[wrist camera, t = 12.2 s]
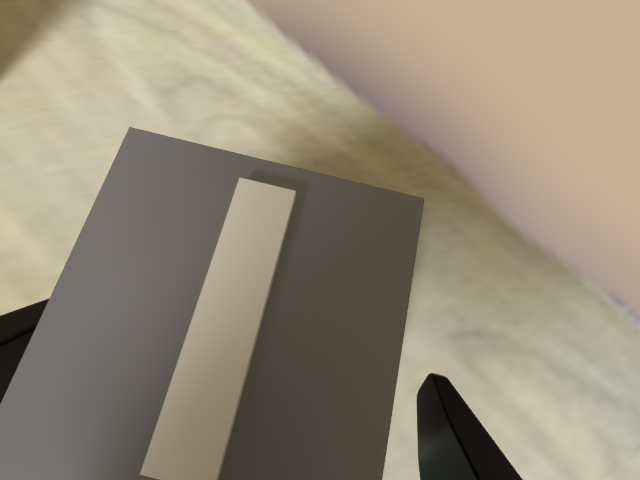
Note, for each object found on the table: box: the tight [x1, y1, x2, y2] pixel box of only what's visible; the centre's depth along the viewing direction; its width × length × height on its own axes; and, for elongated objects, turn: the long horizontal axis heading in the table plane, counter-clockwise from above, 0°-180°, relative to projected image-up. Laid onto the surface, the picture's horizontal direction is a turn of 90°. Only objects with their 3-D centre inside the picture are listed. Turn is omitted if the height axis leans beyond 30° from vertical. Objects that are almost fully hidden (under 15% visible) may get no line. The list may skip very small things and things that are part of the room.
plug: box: [0, 127, 424, 480], centre depth 10 cm, size 4×4×13 cm
